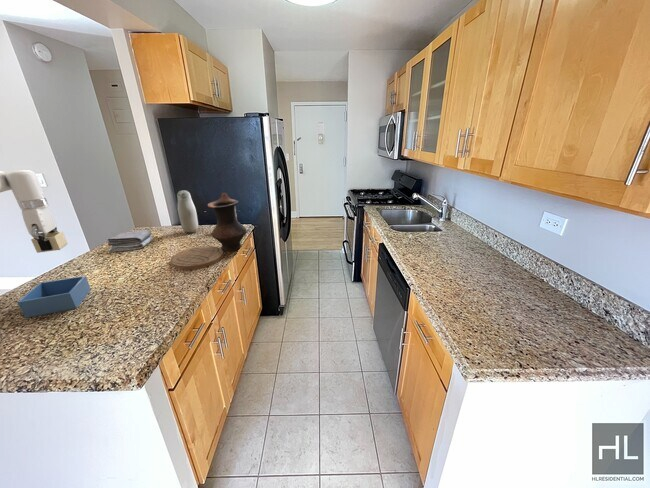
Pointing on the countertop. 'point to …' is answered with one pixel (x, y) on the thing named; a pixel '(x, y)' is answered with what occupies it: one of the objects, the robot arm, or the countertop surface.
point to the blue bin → (54, 296)
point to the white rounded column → (187, 212)
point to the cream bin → (52, 241)
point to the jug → (227, 223)
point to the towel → (129, 241)
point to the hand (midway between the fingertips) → (52, 246)
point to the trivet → (196, 257)
